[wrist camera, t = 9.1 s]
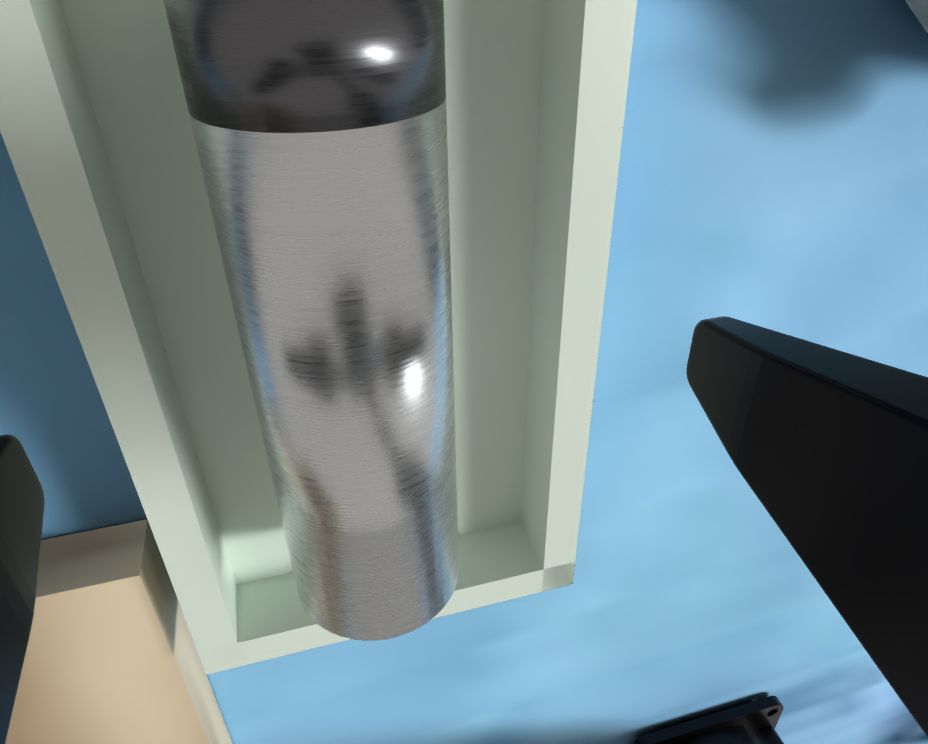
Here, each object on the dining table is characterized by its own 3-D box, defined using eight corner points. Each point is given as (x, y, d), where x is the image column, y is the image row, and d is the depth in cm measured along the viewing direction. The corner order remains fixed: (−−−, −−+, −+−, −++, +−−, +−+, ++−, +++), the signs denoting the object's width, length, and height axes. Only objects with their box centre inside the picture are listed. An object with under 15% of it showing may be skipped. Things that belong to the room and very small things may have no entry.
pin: (437, -42, 10) (449, -20, 7) (454, 507, 16) (464, 634, 13) (198, -36, 10) (115, -13, 7) (307, 516, 16) (285, 645, 13)
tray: (590, -245, 10) (667, -277, 8) (540, 520, 19) (572, 583, 17) (-84, -267, 8) (-171, -317, 6) (208, 594, 17) (206, 674, 15)
